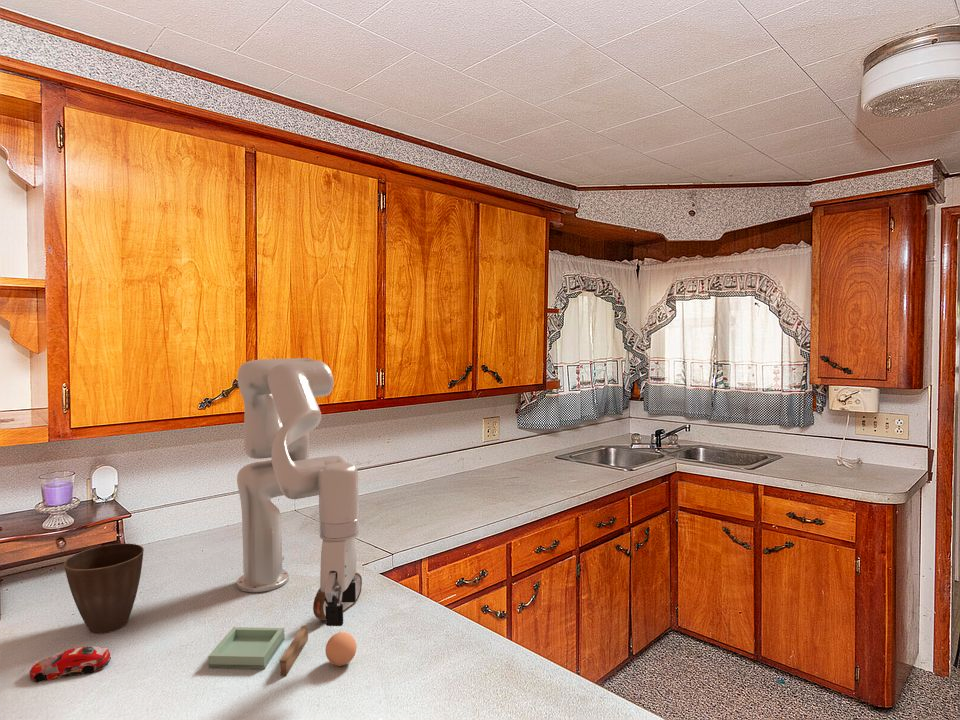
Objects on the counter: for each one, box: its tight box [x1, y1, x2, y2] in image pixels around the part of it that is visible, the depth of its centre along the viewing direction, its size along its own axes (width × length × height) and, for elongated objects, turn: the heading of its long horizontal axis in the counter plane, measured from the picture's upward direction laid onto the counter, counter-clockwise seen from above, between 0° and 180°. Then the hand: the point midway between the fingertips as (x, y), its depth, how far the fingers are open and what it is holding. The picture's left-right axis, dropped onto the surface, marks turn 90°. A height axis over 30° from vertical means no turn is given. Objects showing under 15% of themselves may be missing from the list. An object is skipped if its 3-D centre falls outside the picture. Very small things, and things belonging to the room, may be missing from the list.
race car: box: [29, 646, 112, 683], centre depth 116 cm, size 13×5×4 cm, turn 107°
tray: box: [207, 626, 285, 670], centre depth 122 cm, size 11×11×2 cm
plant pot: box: [63, 543, 145, 635], centre depth 133 cm, size 15×15×16 cm
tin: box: [312, 572, 363, 621], centre depth 139 cm, size 15×3×8 cm, turn 154°
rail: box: [279, 625, 309, 677], centre depth 121 cm, size 13×1×3 cm, turn 178°
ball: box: [325, 631, 357, 667], centre depth 118 cm, size 6×6×6 cm
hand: (341, 613), depth 118 cm, fingers open, 9 cm apart
